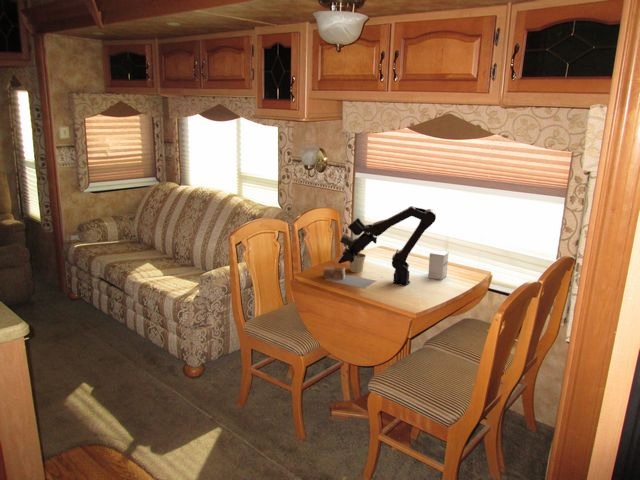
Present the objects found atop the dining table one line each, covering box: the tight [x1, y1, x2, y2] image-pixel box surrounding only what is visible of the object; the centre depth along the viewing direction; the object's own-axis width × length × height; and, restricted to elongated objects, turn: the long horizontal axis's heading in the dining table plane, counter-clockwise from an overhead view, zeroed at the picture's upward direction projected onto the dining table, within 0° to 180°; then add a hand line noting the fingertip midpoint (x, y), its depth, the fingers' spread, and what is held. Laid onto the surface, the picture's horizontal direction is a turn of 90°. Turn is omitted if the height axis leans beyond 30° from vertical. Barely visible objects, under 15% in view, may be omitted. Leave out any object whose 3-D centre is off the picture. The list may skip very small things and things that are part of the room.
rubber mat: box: [324, 273, 377, 289], centre depth 251 cm, size 22×13×1 cm, turn 57°
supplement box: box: [427, 250, 449, 281], centre depth 257 cm, size 7×7×13 cm
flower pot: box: [348, 252, 367, 273], centre depth 265 cm, size 9×9×9 cm
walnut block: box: [322, 266, 346, 280], centre depth 255 cm, size 4×4×10 cm
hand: (338, 262), depth 253 cm, fingers closed
